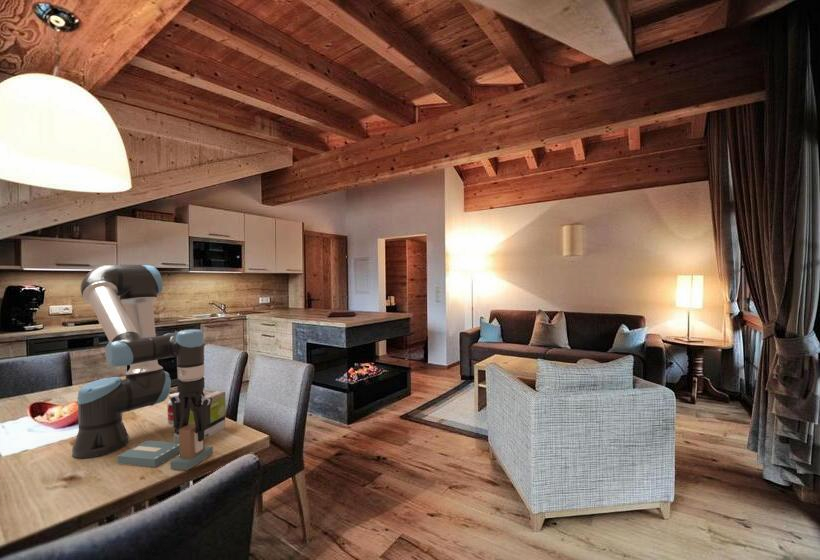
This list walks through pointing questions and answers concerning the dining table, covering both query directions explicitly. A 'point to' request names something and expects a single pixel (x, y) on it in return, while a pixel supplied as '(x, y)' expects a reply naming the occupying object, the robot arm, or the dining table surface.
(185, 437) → the stub
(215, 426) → the tea box
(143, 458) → the ticket
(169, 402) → the pill bottle
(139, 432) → the dining table surface
